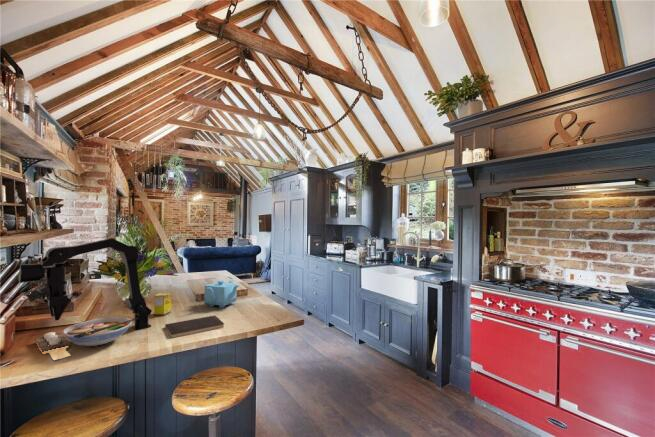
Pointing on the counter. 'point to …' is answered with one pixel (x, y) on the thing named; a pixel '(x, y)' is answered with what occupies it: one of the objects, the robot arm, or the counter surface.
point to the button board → (45, 347)
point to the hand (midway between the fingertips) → (55, 318)
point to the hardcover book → (193, 326)
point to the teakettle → (220, 293)
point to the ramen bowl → (97, 331)
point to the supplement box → (162, 304)
